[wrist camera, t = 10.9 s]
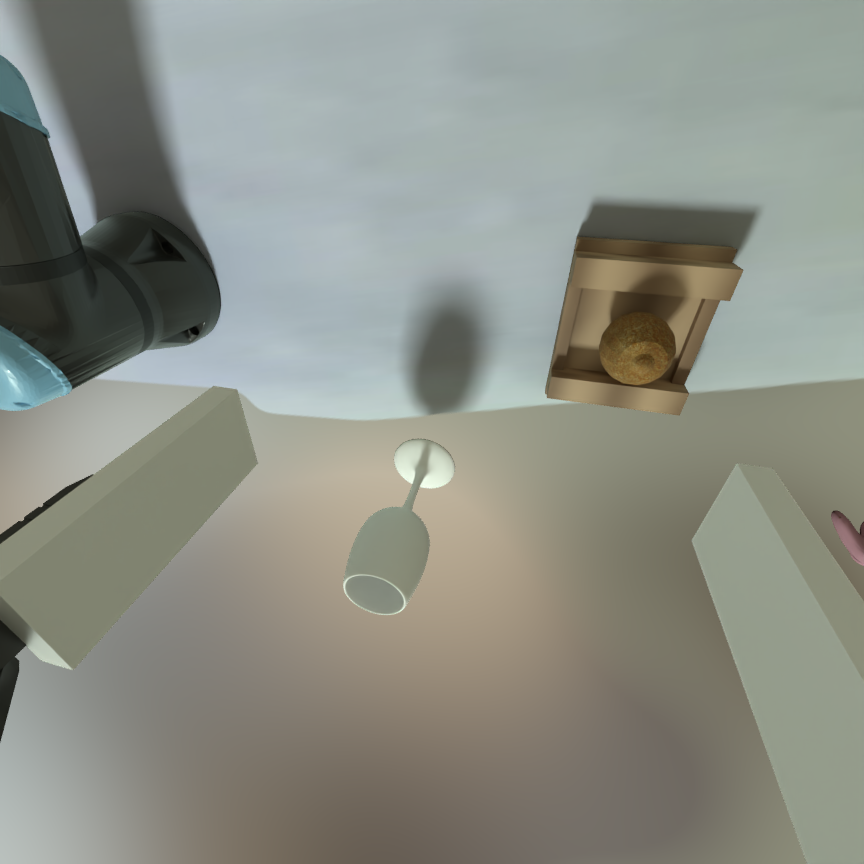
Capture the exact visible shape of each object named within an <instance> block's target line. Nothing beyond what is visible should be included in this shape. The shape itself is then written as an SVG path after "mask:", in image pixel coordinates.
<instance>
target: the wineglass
mask: <svg viewBox="0 0 864 864" xmlns="http://www.w3.org/2000/svg"><path fill="white" fill-rule="evenodd" d="M394 463H395V466H396V469H397V471H398V472H399V474H400V475H401V476H402V477H403V478H404V479H405V480H407V481H408V482H410V483H411V484H412V487H411V490H410V493H409V495H408V497H407V500H406V502H405V504H404V505H403V507H389V508H385V509H382V510H380V511H378V512H376V513H374V514H373V515H372V516H371V517H369V519H368V520H367V521H366V522H365V523H364V525H363V526H362V528H361V530H360V532H359V533H358V535H357V537H356V539H355V542H354V544H353V547H352V549H351V552H350V555H349V559H348V563H347V567H346V571H345V577H344V583H343V587H344V591H345V593H346V595H347V596H348V598H349V599H350V600H351V601H352V602H353V603H355V604H356V605H357V606H359V607H360V608H362V609H364V610H366V611H369V612H372V613H376V614H382V615H392V614H396V613H399V612H400V611H402V610H403V609H404V608H405V607H406V605H407V603H408V602H409V600H410V598H411V597H412V595H413V593H414V591H415V589H416V588H417V586H418V584H419V582H420V579H421V577H422V575H423V572H424V569H425V566H426V562H427V558H428V554H429V546H430V540H429V534H428V531H427V528H426V526H425V524H424V523H423V521H422V520H421V519H420V518H419V516H417V515H416V514H415V513H414V512H412V508H413V503H414V500H415V497H416V495H417V492H418V490H419V487H422V488H437V487H440V486H443V485H445V484H447V483H448V482H449V481H450V480H451V479H452V477H453V475H454V472H455V464H454V461H453V459H452V457H451V455H450V454H449V452H448V451H447V450H446V449H444V448H443V447H442V446H441V445H439V444H437V443H435V442H432V441H430V440H426V439H412V440H409V441H406V442H404V443H403V444H401V445H400V446H399V447H398V448H397V450H396V452H395V455H394Z"/></svg>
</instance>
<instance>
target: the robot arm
mask: <svg viewBox="0 0 864 864" xmlns="http://www.w3.org/2000/svg"><path fill="white" fill-rule="evenodd" d="M48 138H50V135H49V132H48V130H47V129H46V128H45V127H44V126H43V125H42V122H41V119H40V117H39V114H38V111H37V109H36V106H35V103H34V101H33V98H32V95H31V93H30V90H29V87H28V85H27V83H26V81H25V79H24V77H23V76H22V75H21V73H20V72H19V71H18V69H17V68H16V67H15V66H14V65H13V64H12V63H11V62H9V61H8V60H7V59H6V58H4V57H3V56H1V55H0V409H3V410H11V411H16V410H26V409H30V408H33V407H36V406H38V405H40V404H43V403H45V402H48V401H50V400H52V399H55V398H57V397H59V396H64V395H67V394H69V393H70V391H71V390H72V389H74V388H76V387H78V386H80V385H82V384H84V383H85V382H87V381H89V380H91V379H93V378H95V377H97V376H99V375H100V374H102V373H104V372H106V371H108V370H110V369H112V368H113V367H115V366H117V365H119V364H121V363H123V362H125V361H127V360H128V359H130V358H132V357H134V356H136V355H138V354H139V353H141V352H143V351H145V350H153V349H162V348H170V347H179V346H185V345H189V344H191V343H194V342H196V341H197V340H199V339H201V338H203V337H204V336H206V335H208V334H209V333H210V332H211V331H212V330H213V328H214V327H215V325H216V323H217V321H218V318H219V314H220V296H219V291H218V287H217V283H216V280H215V278H214V275H213V273H212V271H211V269H210V267H209V265H208V263H207V261H206V260H205V258H204V257H203V255H202V254H201V252H200V251H199V250H198V248H197V247H196V246H195V245H194V244H193V242H192V241H191V240H190V239H189V238H188V237H187V236H186V235H185V234H183V233H182V232H181V231H180V230H179V229H177V228H176V227H175V226H173V225H172V224H170V223H169V222H167V221H165V220H164V219H162V218H159V217H157V216H155V215H152V214H149V213H144V212H127V213H122V214H116V215H112V216H109V217H107V218H105V219H103V220H101V221H100V222H98V223H97V224H96V225H94V226H93V227H92V228H91V229H89V230H88V231H87V232H86V233H84V234H83V235H82V236H80V235H79V232H78V229H77V226H76V223H75V220H74V217H73V214H72V211H71V208H70V205H69V202H68V199H67V196H66V193H65V190H64V187H63V184H62V181H61V177H60V174H59V171H58V168H57V165H56V162H55V159H54V156H53V153H52V150H51V147H50V144H49V141H48ZM257 464H258V462H257V458H256V455H255V451H254V448H253V444H252V441H251V437H250V433H249V430H248V426H247V423H246V419H245V416H244V412H243V409H242V405H241V402H240V398H239V394H238V391H237V389H230V388H223V387H217V386H213V387H212V388H210V389H209V390H208V391H206V392H205V393H204V394H202V395H201V396H200V397H198V398H197V399H195V400H194V401H193V402H191V403H190V404H189V405H187V406H186V407H185V408H183V409H182V410H181V411H179V412H178V413H177V414H175V415H174V416H172V417H171V418H170V419H168V420H167V421H166V422H164V423H163V424H162V425H160V426H159V427H158V428H156V429H155V430H154V431H152V432H151V433H149V434H148V435H147V436H145V437H144V438H143V439H141V440H140V441H139V442H137V443H136V444H135V445H133V446H132V447H131V448H129V449H128V450H127V451H125V452H124V453H122V454H121V455H120V456H118V457H117V458H116V459H114V460H113V461H112V462H111V463H109V464H108V465H106V466H105V467H104V468H102V469H101V470H100V471H98V472H97V473H96V474H94V475H90V476H88V477H86V478H84V479H82V480H80V481H78V482H76V483H74V484H72V485H69V486H67V487H66V488H64V489H63V490H61V491H60V492H59V493H57V494H56V495H55V496H53V497H52V498H50V499H49V500H48V501H46V502H45V503H43V506H42V507H38V508H36V509H35V510H34V511H32V512H31V513H29V514H28V515H27V516H25V517H24V520H23V521H18V522H17V523H16V524H14V525H13V526H12V527H10V528H9V529H7V530H6V531H5V532H3V533H2V534H0V741H1V737H2V734H3V730H4V726H5V722H6V718H7V714H8V711H9V707H10V704H11V699H12V696H13V692H14V688H15V685H16V681H17V677H18V673H19V660H18V659H17V658H15V656H16V655H17V654H18V653H19V652H20V651H21V650H22V649H23V648H24V647H25V646H27V647H28V648H29V649H30V650H31V651H32V652H33V653H34V654H35V655H36V656H37V657H38V658H39V659H40V660H41V661H44V662H47V663H51V664H54V665H58V666H61V667H64V668H68V669H71V670H74V669H75V668H76V667H77V665H78V664H79V663H80V662H81V661H82V660H83V658H84V657H85V656H86V655H87V654H88V653H89V652H90V651H91V650H92V649H93V647H94V646H95V645H96V644H97V643H98V642H99V641H100V640H101V638H102V637H103V636H104V635H105V634H106V633H107V632H108V631H109V630H110V628H111V627H112V626H113V625H114V624H115V623H116V622H117V621H118V619H119V618H120V617H121V616H122V615H123V614H124V613H125V612H126V610H127V609H128V608H129V607H130V606H131V605H132V604H133V603H134V601H135V600H136V599H137V598H138V597H139V596H140V595H141V594H142V593H143V591H144V590H145V589H146V588H147V587H148V586H149V585H150V584H151V582H152V581H153V580H154V579H155V578H156V577H157V576H158V574H159V573H160V572H161V571H162V570H163V569H164V568H165V567H166V566H167V565H168V563H169V562H170V561H171V560H172V559H173V558H174V557H175V555H176V554H177V553H178V552H179V551H180V550H181V549H182V548H183V547H184V546H185V544H186V543H187V542H188V541H189V540H190V539H191V537H193V535H194V534H195V533H196V532H197V531H198V530H199V529H200V528H201V526H202V525H203V524H204V523H205V522H206V521H207V520H208V519H209V518H210V516H211V515H212V514H213V513H214V512H215V511H216V510H217V509H218V507H219V506H220V505H221V504H222V503H223V502H224V501H225V499H226V498H227V497H228V496H229V495H230V494H231V493H232V492H233V491H234V489H235V488H236V487H237V486H238V485H239V484H240V483H241V481H242V480H243V479H244V478H245V477H246V476H247V475H248V474H249V473H250V471H251V470H252V469H253V468H254V467H255V466H256V465H257ZM692 543H693V546H694V548H695V552H696V554H697V557H698V560H699V563H700V566H701V568H702V571H703V574H704V577H705V580H706V582H707V585H708V588H709V591H710V594H711V596H712V599H713V602H714V605H715V608H716V610H717V613H718V616H719V619H720V622H721V624H722V627H723V630H724V633H725V636H726V638H727V641H728V644H729V647H730V650H731V652H732V655H733V658H734V661H735V663H736V666H737V669H738V672H739V675H740V678H741V681H742V683H743V686H744V689H745V692H746V695H747V697H748V700H749V703H750V706H751V708H752V711H753V714H754V717H755V720H756V722H757V725H758V728H759V731H760V734H761V737H762V739H763V742H764V745H765V747H766V751H767V753H768V756H769V759H770V762H771V765H772V767H773V770H774V773H775V776H776V778H777V781H778V784H779V787H780V790H781V792H782V795H783V798H784V801H785V804H786V807H787V809H788V812H789V815H790V818H791V821H792V823H793V826H794V829H795V832H796V835H797V837H798V840H799V843H800V846H801V848H802V851H803V854H804V857H805V860H806V863H807V864H864V601H863V600H862V598H861V597H860V596H859V594H858V593H857V591H856V590H855V588H854V587H853V585H852V584H851V582H850V581H849V579H848V578H847V576H846V575H845V573H844V572H843V571H842V569H841V568H840V566H839V565H838V563H837V562H836V560H835V559H834V557H833V556H832V554H831V553H830V551H829V550H828V549H827V547H826V546H825V544H824V543H823V541H822V540H821V538H820V537H819V535H818V534H817V533H816V531H815V529H814V528H813V526H812V525H811V524H810V522H809V521H808V519H807V518H806V516H805V515H804V513H803V512H802V510H801V509H800V508H799V506H798V504H797V503H796V502H795V501H794V499H793V497H792V496H791V494H790V493H789V491H788V490H787V488H786V487H785V485H784V484H783V483H782V481H781V480H780V478H779V477H778V475H777V474H776V472H775V471H774V469H773V468H766V467H760V466H753V465H745V464H739V463H737V464H736V465H735V467H734V469H733V471H732V472H731V474H730V476H729V478H728V479H727V481H726V483H725V484H724V486H723V488H722V489H721V492H720V493H719V495H718V496H717V498H716V500H715V502H714V503H713V505H712V507H711V508H710V510H709V512H708V513H707V515H706V517H705V519H704V520H703V522H702V524H701V525H700V527H699V529H698V531H697V532H696V534H695V536H694V537H693V539H692Z"/></svg>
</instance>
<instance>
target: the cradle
mask: <svg viewBox="0 0 864 864" xmlns="http://www.w3.org/2000/svg"><path fill="white" fill-rule="evenodd" d="M736 252H737V249H735V248H733V247H726V246H711V245H696V244H682V243H667V242H652V241H637V240H622V239H607V238H592V237H578V236H577V239H576V244H575V249H574V254H573V258H572V263H571V268H570V273H569V278H568V283H567V287H566V292H565V297H564V302H563V307H562V311H561V316H560V321H559V326H558V331H557V335H556V340H555V345H554V350H553V355H552V360H551V364H550V369H549V374H548V379H547V384H546V388H545V394H547V398H551V399H559V400H566V401H574V402H581V403H589V404H597V405H604V406H612V407H620V408H627V409H634V410H642V411H650V412H657V413H665V414H673V415H680V413H681V411H682V409H683V406H684V404H685V402H686V400H687V397H688V395H689V393H688V391H687V389H686V387H685V386H684V384H685V382H686V380H687V377H688V375H689V373H690V370H691V368H692V366H693V363H694V361H695V358H696V356H697V354H698V351H699V349H700V347H701V344H702V342H703V340H704V337H705V335H706V333H707V330H708V328H709V326H710V323H711V321H712V319H713V316H714V314H715V312H716V309H717V307H718V304H719V302H720V300H725V301H730V299H731V297H732V295H733V293H734V290H735V288H736V286H737V284H738V281H739V279H740V277H741V274H742V272H743V269H741V268H740V267H738V266H737V265H735V264H734V263H732V262H733V259H734V257H735V254H736ZM635 311H637V312H647V313H652V314H654V315H656V316H658V317H660V318H661V319H663V320H664V321H666V322H667V324H668V325H669V327H670V328H671V330H672V331H673V333H674V336H675V342H676V354H675V357H674V359H673V362H672V364H671V366H670V367H669V368H668V370H667V371H666V372H665V373H664V374H663V375H662V376H661V377H660V378H658V379H656V380H654V381H652V382H650V383H646V384H641V385H633V384H625V383H622V382H620V381H618V380H616V379H614V378H613V377H611V376H610V375H609V374H608V372H607V371H606V370H605V368H604V367H603V365H602V363H601V360H600V354H599V344H600V341H601V337H602V334H603V332H604V331H605V330H606V328H607V327H608V326H609V325H610V323H611V322H612V321H614V320H615V319H617V318H618V317H620V316H621V315H624V314H627V313H631V312H635Z"/></svg>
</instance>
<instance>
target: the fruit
mask: <svg viewBox="0 0 864 864" xmlns="http://www.w3.org/2000/svg"><path fill="white" fill-rule="evenodd" d="M599 354H600V360H601V363H602V365H603V367H604V368H605V370H606V371H607V372H608V374H609V375H610V376H611V377H613V378H614V379H616V380H618V381H620V382H622V383H625V384H633V385H641V384H646V383H650V382H652V381H654V380H656V379H658V378H660V377H661V376H662V375H663V374H664V373H665V372H666V371H667V370H668V368H669V367H670V366H671V364H672V362H673V359H674V357H675V354H676V342H675V336H674V333H673V331H672V330H671V328H670V327H669V325H668V324H667V322H666V321H664V320H663V319H661V318H660V317H658V316H656V315H654V314H652V313H647V312H637V311H635V312H631V313H627V314H624V315H621V316H620V317H618V318H617V319H615V320H614V321H612V322H611V323H610V325H609V326H608V327H607V328H606V330H605V331H604V332H603V334H602V337H601V341H600V344H599Z"/></svg>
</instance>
